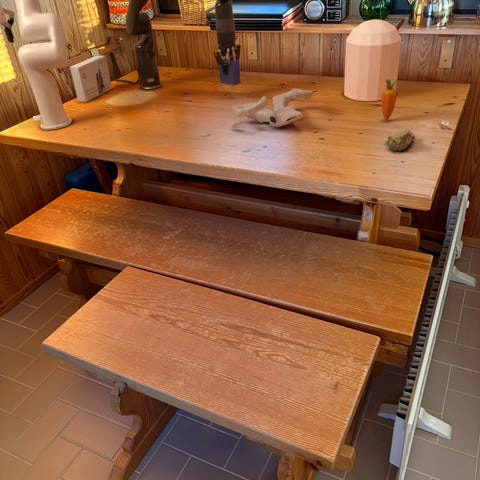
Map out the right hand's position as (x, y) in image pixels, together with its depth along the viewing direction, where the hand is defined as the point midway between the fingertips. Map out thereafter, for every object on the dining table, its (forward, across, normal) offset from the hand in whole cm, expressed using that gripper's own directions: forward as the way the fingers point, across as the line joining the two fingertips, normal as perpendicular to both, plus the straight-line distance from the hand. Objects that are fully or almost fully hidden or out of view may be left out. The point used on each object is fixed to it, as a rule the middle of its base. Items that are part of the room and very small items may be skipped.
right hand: (229, 72), depth 196 cm
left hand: (-27, -83, +17) cm, 89 cm away
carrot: (+10, +12, -69) cm, 70 cm away
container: (+10, +35, -47) cm, 59 cm away
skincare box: (+11, -32, +61) cm, 70 cm away
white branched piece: (+11, -12, -38) cm, 42 cm away
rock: (+10, -5, -84) cm, 84 cm away
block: (+4, 0, 0) cm, 4 cm away
